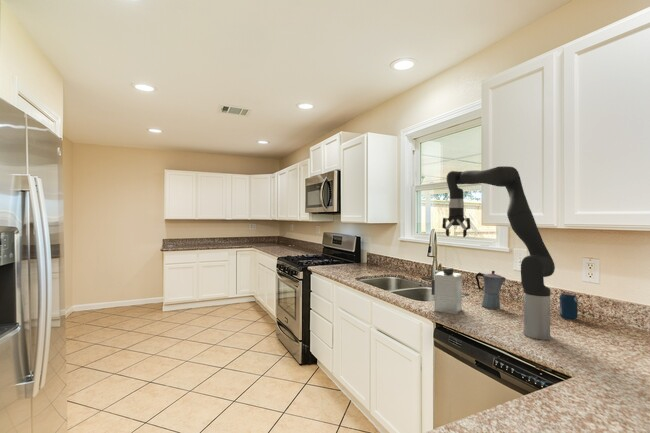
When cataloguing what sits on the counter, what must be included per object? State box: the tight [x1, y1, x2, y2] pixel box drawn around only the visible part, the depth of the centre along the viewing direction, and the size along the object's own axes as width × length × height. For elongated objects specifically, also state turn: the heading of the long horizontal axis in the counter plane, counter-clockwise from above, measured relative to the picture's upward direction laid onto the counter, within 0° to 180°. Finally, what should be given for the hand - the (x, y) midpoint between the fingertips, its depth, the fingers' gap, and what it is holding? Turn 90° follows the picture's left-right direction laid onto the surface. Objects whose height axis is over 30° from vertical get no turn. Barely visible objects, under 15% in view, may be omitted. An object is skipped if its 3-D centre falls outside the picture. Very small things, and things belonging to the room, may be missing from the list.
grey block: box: [431, 271, 463, 316], centre depth 168 cm, size 14×11×19 cm
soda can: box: [559, 291, 579, 321], centre depth 155 cm, size 7×7×12 cm
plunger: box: [442, 267, 455, 275], centre depth 167 cm, size 9×9×20 cm
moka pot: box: [474, 270, 507, 310], centre depth 174 cm, size 10×15×20 cm, turn 53°
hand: (456, 236), depth 177 cm, fingers open, 8 cm apart
